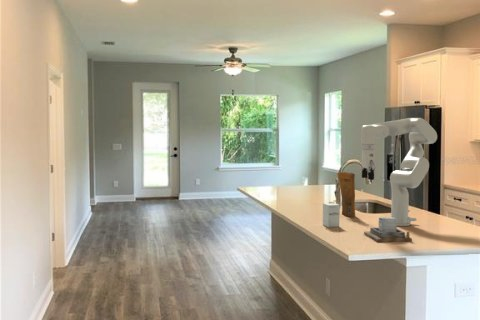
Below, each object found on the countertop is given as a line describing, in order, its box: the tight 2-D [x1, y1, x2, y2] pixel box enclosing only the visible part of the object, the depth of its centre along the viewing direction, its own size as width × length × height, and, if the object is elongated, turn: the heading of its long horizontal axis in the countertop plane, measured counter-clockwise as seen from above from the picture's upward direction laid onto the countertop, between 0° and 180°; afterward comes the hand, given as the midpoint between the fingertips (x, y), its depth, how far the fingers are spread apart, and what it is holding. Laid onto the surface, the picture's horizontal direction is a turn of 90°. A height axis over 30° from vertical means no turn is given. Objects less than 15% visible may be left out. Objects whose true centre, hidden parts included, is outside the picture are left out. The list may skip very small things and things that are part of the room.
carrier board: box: [363, 226, 413, 243], centre depth 250 cm, size 18×18×4 cm
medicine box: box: [378, 216, 398, 233], centre depth 250 cm, size 8×4×9 cm, turn 96°
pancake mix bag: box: [337, 171, 356, 218], centre depth 314 cm, size 7×19×28 cm, turn 15°
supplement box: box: [322, 202, 341, 228], centre depth 281 cm, size 7×7×13 cm
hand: (367, 178), depth 269 cm, fingers open, 9 cm apart
